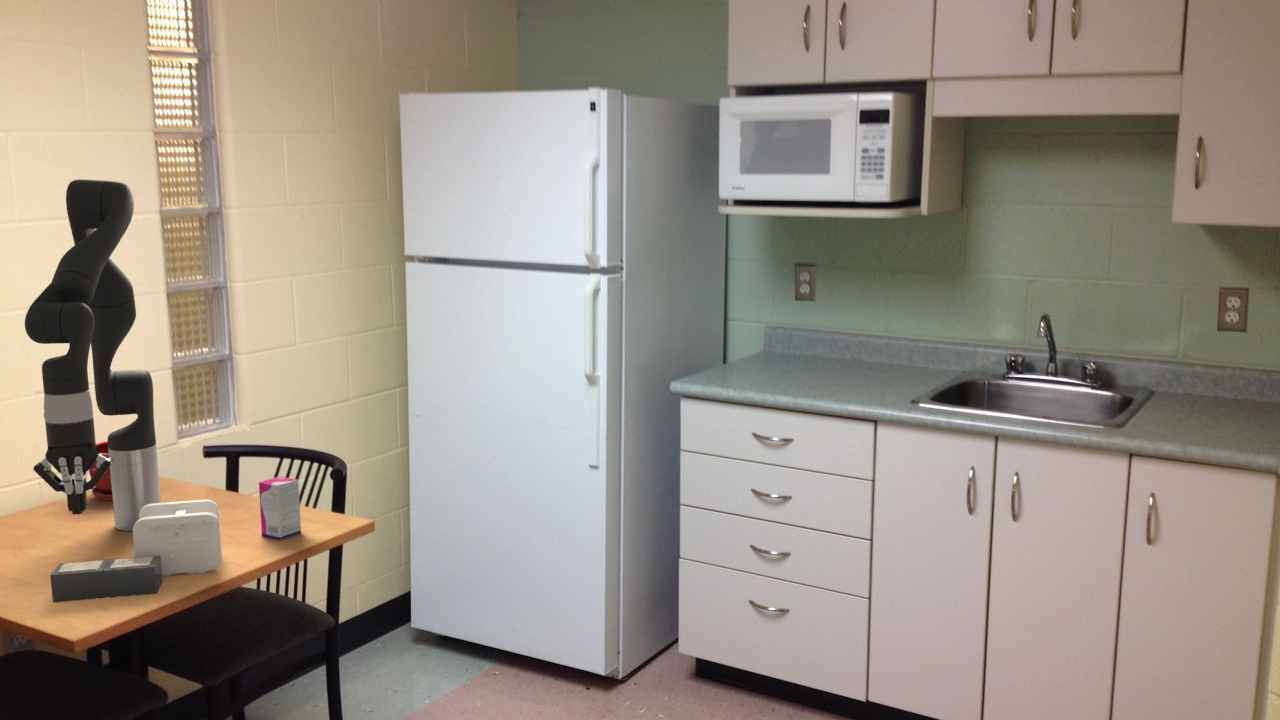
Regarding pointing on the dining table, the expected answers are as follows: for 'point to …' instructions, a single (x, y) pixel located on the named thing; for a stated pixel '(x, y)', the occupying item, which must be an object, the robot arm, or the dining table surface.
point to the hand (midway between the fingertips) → (78, 512)
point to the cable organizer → (180, 535)
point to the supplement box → (280, 508)
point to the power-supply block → (106, 578)
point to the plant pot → (104, 484)
